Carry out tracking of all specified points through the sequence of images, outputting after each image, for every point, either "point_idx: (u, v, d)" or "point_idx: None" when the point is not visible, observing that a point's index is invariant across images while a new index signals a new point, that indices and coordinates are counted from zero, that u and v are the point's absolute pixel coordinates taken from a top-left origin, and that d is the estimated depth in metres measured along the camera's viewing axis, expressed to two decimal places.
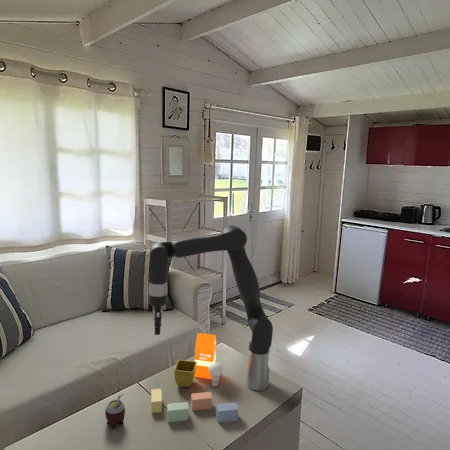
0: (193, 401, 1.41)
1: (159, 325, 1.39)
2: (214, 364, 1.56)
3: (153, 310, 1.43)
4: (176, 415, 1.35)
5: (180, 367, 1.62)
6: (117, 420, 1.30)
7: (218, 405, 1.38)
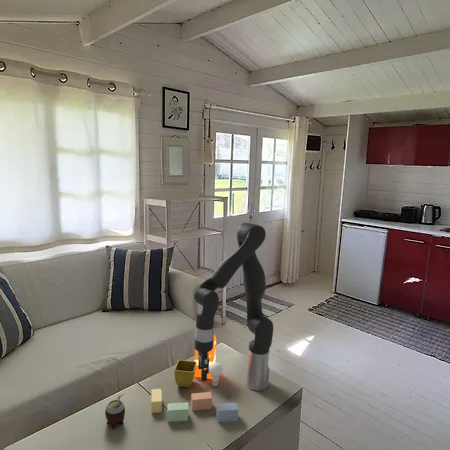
0: (193, 401, 1.41)
1: (207, 372, 1.35)
2: (214, 364, 1.56)
3: (199, 355, 1.38)
4: (176, 415, 1.35)
5: (180, 367, 1.62)
6: (117, 420, 1.30)
7: (218, 405, 1.38)
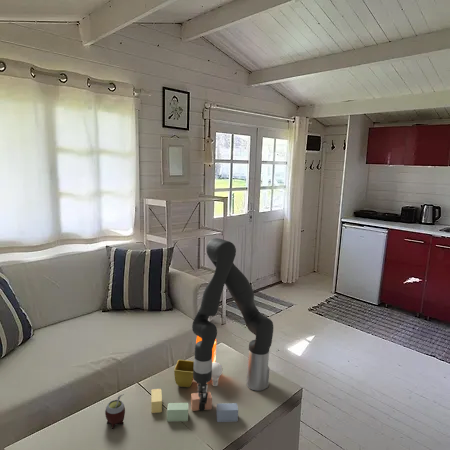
0: (193, 401, 1.41)
1: (204, 403, 1.39)
2: (214, 364, 1.56)
3: (198, 387, 1.40)
4: (176, 415, 1.35)
5: (180, 367, 1.62)
6: (117, 420, 1.30)
7: (218, 405, 1.39)
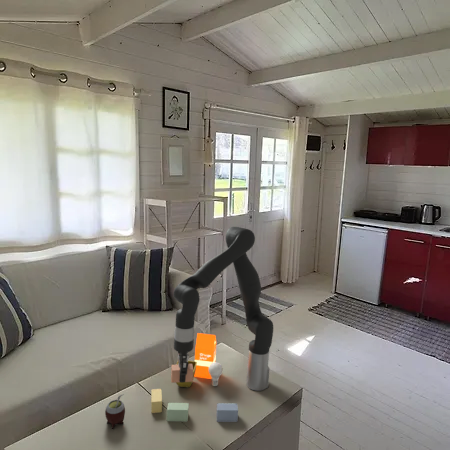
0: (173, 372, 1.33)
1: (185, 373, 1.30)
2: (214, 364, 1.56)
3: (179, 357, 1.32)
4: (175, 415, 1.35)
5: None
6: (117, 420, 1.30)
7: (218, 404, 1.39)
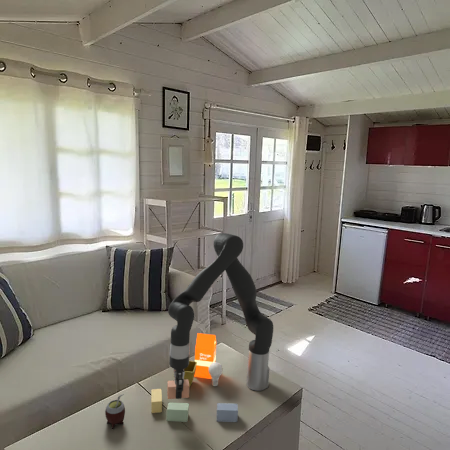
0: (169, 388, 1.32)
1: (181, 390, 1.30)
2: (214, 364, 1.56)
3: (174, 373, 1.32)
4: (175, 415, 1.35)
5: None
6: (117, 420, 1.30)
7: (218, 404, 1.39)
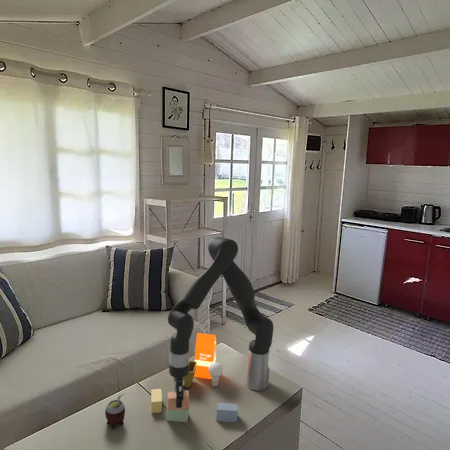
0: (169, 400, 1.33)
1: (181, 399, 1.29)
2: (214, 364, 1.56)
3: (174, 381, 1.33)
4: (175, 414, 1.35)
5: None
6: (117, 420, 1.30)
7: (218, 404, 1.39)
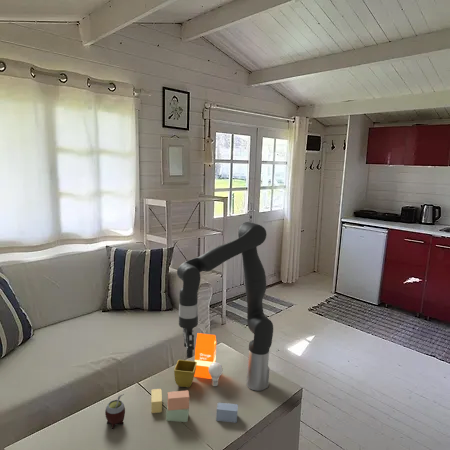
0: (169, 400, 1.33)
1: (192, 348, 1.34)
2: (214, 364, 1.56)
3: (184, 332, 1.38)
4: (175, 414, 1.35)
5: (180, 367, 1.62)
6: (117, 420, 1.30)
7: (219, 404, 1.39)
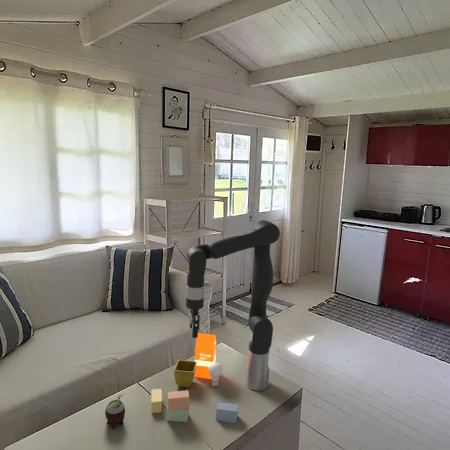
0: (169, 400, 1.33)
1: (197, 328, 1.40)
2: (214, 364, 1.56)
3: (190, 313, 1.44)
4: (175, 415, 1.35)
5: (180, 367, 1.62)
6: (117, 420, 1.30)
7: (219, 403, 1.39)
